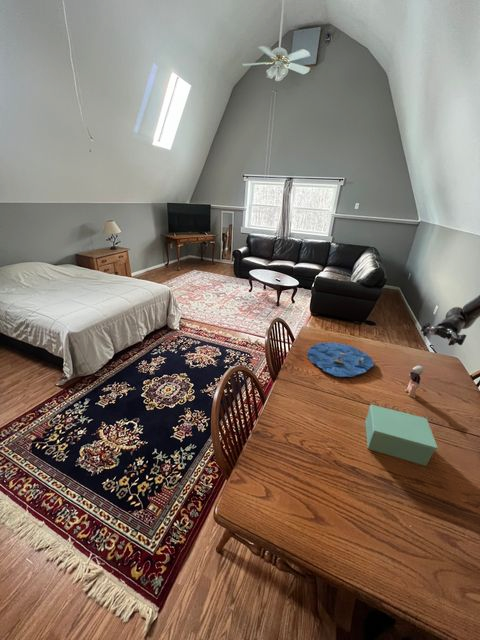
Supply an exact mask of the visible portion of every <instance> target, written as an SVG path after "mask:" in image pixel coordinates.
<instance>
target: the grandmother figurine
mask: <svg viewBox="0 0 480 640" xmlns="http://www.w3.org/2000/svg"><path fill="white" fill-rule="evenodd" d="M423 372H424V367H423V366H421V365H416V366H414V367H413V368H412V371H411V372H409V374H408V377H409V378H410V381H409V383H408V386H407V388H406V389H405V390H404V391H405V393H407V394H406V395H407V396H408V397H410V398H416V393H417V389H419V386H420V384H421V375H422V374H423Z"/></svg>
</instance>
